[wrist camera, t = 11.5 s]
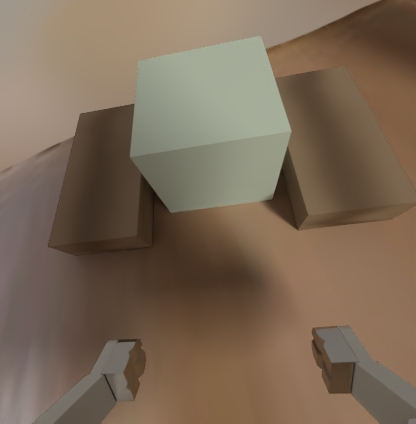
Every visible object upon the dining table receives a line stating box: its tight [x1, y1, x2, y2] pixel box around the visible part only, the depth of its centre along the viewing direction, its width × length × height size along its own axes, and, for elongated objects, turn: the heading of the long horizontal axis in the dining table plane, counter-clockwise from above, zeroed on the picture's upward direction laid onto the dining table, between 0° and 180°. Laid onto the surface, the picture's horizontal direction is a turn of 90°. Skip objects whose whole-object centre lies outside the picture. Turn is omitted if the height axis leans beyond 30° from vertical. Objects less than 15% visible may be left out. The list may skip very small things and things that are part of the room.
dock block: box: [48, 65, 416, 256], centre depth 19 cm, size 26×14×3 cm, turn 94°
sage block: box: [130, 36, 291, 213], centre depth 17 cm, size 9×9×8 cm
